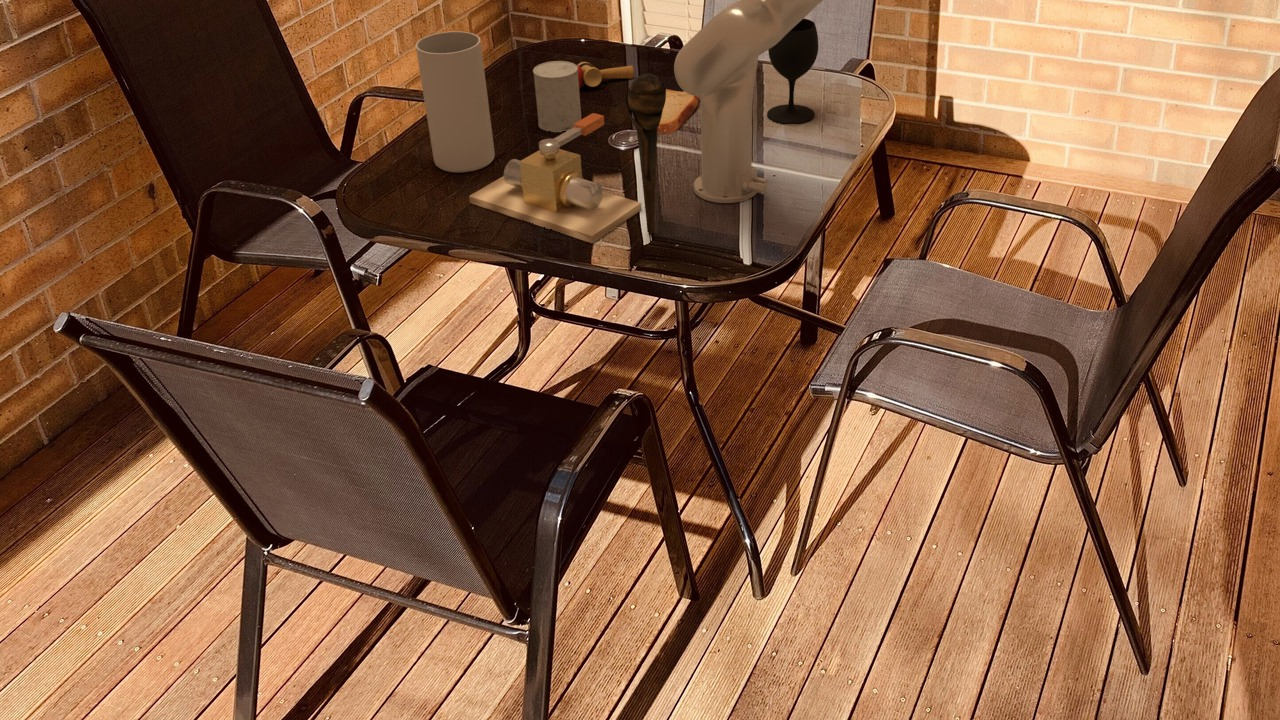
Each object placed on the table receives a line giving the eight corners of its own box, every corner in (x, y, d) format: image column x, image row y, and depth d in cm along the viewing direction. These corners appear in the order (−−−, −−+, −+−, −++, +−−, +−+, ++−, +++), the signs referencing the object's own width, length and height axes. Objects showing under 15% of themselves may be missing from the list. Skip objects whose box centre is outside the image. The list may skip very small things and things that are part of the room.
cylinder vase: (461, 179, 227) (443, 58, 213) (422, 163, 234) (402, 45, 220) (507, 158, 235) (493, 39, 220) (468, 142, 242) (451, 27, 227)
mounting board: (641, 209, 214) (641, 202, 213) (592, 243, 204) (592, 236, 203) (520, 173, 229) (520, 166, 228) (469, 202, 219) (468, 196, 218)
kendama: (623, 76, 273) (552, 80, 266) (627, 52, 269) (555, 56, 262) (635, 93, 268) (563, 97, 261) (639, 69, 264) (566, 72, 257)
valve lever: (550, 157, 208) (549, 148, 207) (535, 153, 209) (534, 144, 208) (606, 125, 219) (605, 116, 217) (591, 121, 220) (591, 112, 219)
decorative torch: (631, 226, 208) (623, 69, 191) (668, 223, 209) (663, 65, 192) (634, 244, 203) (626, 84, 186) (672, 241, 203) (668, 80, 186)
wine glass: (824, 116, 245) (829, 25, 234) (788, 129, 241) (791, 36, 229) (793, 102, 252) (796, 12, 241) (756, 114, 248) (758, 23, 236)
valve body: (608, 203, 213) (605, 157, 207) (582, 221, 208) (578, 173, 202) (527, 179, 223) (522, 134, 217) (500, 195, 218) (494, 149, 212)
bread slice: (659, 138, 240) (658, 121, 238) (616, 111, 253) (615, 95, 251) (729, 118, 248) (729, 101, 245) (684, 92, 261) (684, 77, 258)
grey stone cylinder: (576, 133, 244) (571, 78, 237) (533, 131, 245) (527, 76, 238) (586, 115, 251) (582, 61, 244) (544, 113, 253) (539, 60, 246)
